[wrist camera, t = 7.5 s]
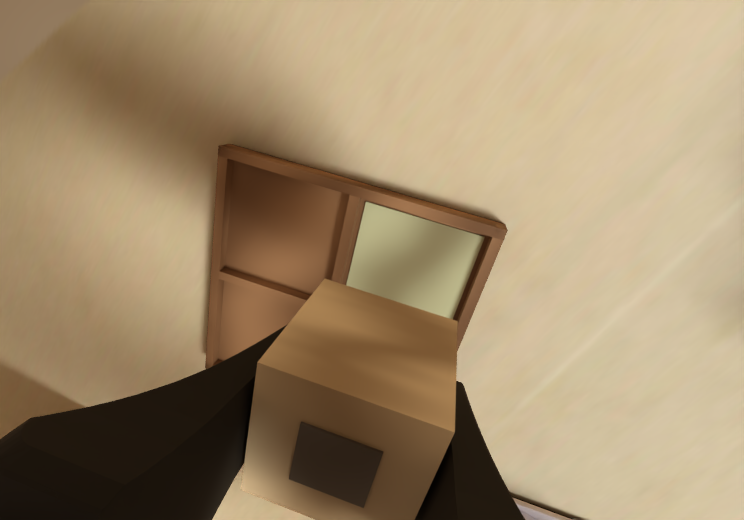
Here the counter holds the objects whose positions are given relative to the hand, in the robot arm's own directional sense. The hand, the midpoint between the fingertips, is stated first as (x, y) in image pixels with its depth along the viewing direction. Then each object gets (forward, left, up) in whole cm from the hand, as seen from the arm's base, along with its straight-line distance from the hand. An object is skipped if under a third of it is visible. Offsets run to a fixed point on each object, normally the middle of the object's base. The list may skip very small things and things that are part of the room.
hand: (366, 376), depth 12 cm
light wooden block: (0, 0, -1) cm, 1 cm away
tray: (+3, +3, -9) cm, 10 cm away
